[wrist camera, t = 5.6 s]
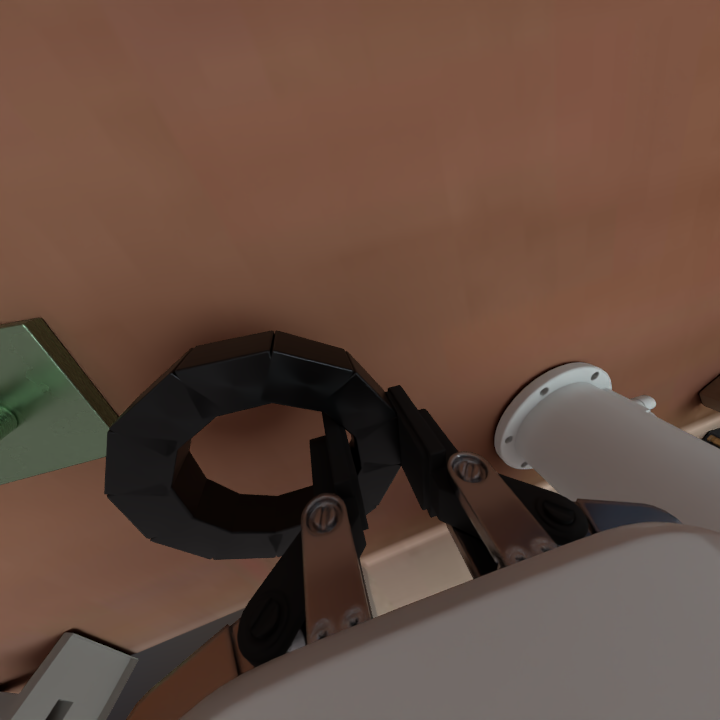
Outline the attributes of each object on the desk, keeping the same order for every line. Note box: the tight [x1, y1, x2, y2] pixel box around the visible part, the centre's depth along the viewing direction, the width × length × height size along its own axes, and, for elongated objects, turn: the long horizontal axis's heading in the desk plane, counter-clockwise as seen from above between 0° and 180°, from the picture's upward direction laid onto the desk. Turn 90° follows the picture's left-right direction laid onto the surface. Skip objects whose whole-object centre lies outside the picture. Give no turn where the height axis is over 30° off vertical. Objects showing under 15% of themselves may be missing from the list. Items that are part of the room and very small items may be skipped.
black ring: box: [104, 331, 401, 560], centre depth 10 cm, size 10×10×2 cm
